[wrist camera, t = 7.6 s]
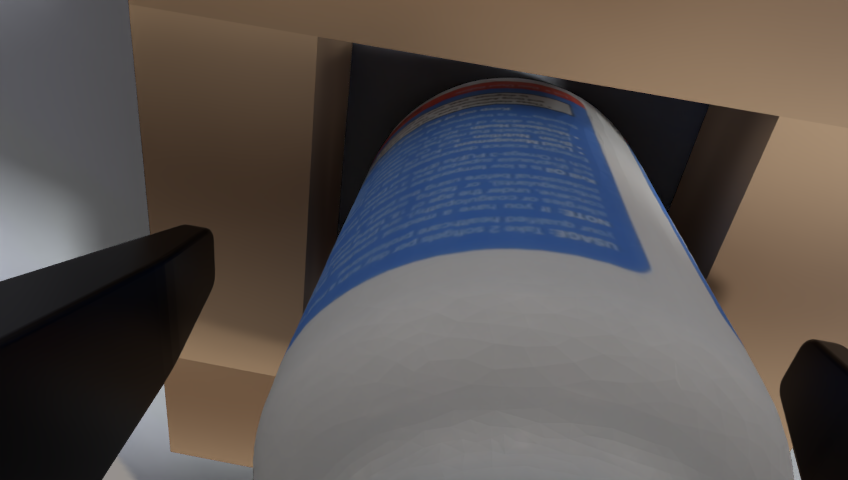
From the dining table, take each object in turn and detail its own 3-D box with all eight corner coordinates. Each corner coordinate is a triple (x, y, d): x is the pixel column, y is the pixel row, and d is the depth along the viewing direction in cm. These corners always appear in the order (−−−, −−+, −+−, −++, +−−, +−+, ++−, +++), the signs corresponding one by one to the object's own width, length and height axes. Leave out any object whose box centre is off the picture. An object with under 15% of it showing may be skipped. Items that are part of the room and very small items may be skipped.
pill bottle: (322, 227, 13) (-24, 845, 4) (473, 9, 10) (354, 447, 2) (524, 356, 14) (561, 1057, 5) (703, 185, 11) (1285, 971, 3)
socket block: (689, 464, 15) (721, 559, 13) (217, 374, 15) (170, 451, 13) (974, -78, 9) (1126, -75, 7) (197, -204, 9) (106, -238, 7)
